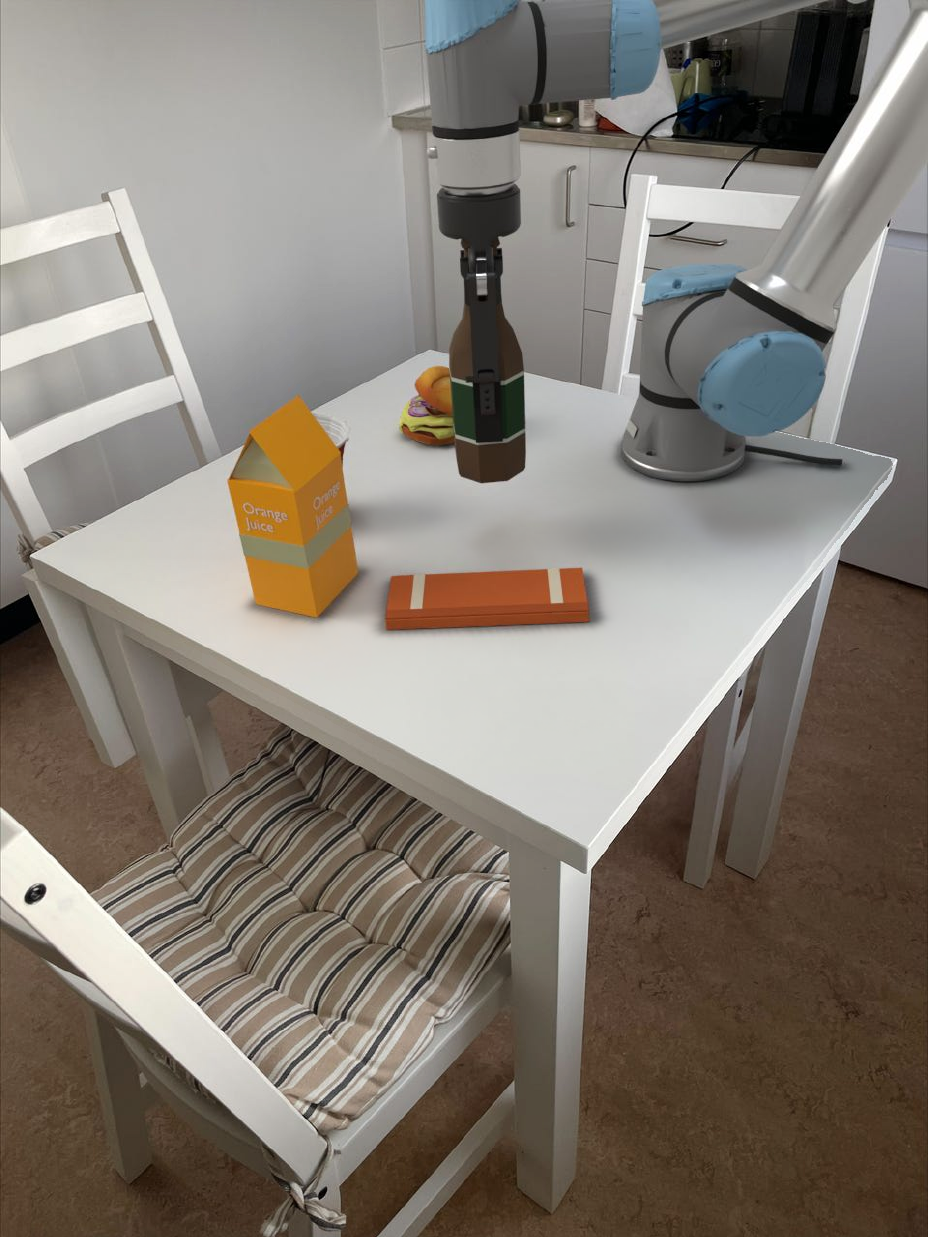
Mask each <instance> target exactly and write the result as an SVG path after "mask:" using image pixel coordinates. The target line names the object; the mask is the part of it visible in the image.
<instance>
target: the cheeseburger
mask: <svg viewBox="0 0 928 1237" xmlns="http://www.w3.org/2000/svg"><path fill="white" fill-rule="evenodd" d="M414 388H415V391H416V392H417V395H415V396H413V397H412V398H411V399H410V400H408V401H407V402H406V403H405V405H404V407H403V410H402V412H401V414H400V420H399V422H398V428H399V430H400V432H401V434H402V435H403V436H404V435H405V436H406V437H407V438H409V439H411V440H413V441H417V442H419V443H423V444H426V445H431V446H444V445H448V444H451V443H455V441H454V427H453V413H452V399H451V384H450V370H449V367H446V366H443V365H435V366H431V367H428V368H427V369H425V370H424V371H423V372H422V373H421V374H420V375H419V376H418V378H417V379H415V382H414Z"/></svg>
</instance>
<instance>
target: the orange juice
mask: <svg viewBox="0 0 928 1237" xmlns="http://www.w3.org/2000/svg"><path fill="white" fill-rule="evenodd" d="M311 412H312V411H311V410H310V408H309V407H308V406H307V405H306V403H305V402H304V400H303V399H302V397H301V396H300V395H297V396H295V397H294V398H292V399H291V400H290V401H288V402H287V403H285V404H284V405H283V406H281V407H280V408H279V409H277V410H276V411H274V412H273V413H272V414H271V415H269V416H268V417H266V418H265V419H264V420H262V421H261V422H260V423H258V424H257V425H256V426H254V427H253V428H251V429H250V430H248V433H249V434H248V435H247V436H248V437H247V438H246V440H245V443H244V444H243V447H242V449H241V452H240V454H239V455H238V458H237V460H236V462H235V465H234V466H233V469H232V471H231V473H230V475H229V477H228V479H227V480H226V481H227V486H228V490H229V494H230V499H231V503H232V508H233V511H234V516H235V520H236V525H237V528H238V529H237V530H238V532H239V533H238V536H239V539H240V545H241V548H242V553H243V556H244V560H245V563H246V567H247V572H248V576H249V580H250V585H251V589H252V593H253V594H252V595H253V598H254V602H255V605H258V606H262V607H266V608H273V609H275V610H280V611H284V612H288V613H289V612H290V613H294V614H299V615H303V616H307V617H312V618H319V617H320V616H321V615H322V613H323V612H324V611H325V610H326V609H327V608H328V607H329V606H330V605H331V604H332V603H333V602H334V600H335V599H336V598H338V596H339V595H340V594H341V593H342V592H343V591H344V589H346V588H347V587H348V585H350V583H351V582H352V581H353V580H354V579H355V578H356V577H357V575H358V574H359V568H358V567H359V566H358V561H357V554H356V549H355V542H354V535H353V528H352V524H353V523H352V518H351V511H350V505H349V501H348V494H347V489H346V482H345V474H344V469H343V468H344V466H343V467H342V461H341V452H340V451H339V449H338V448H337V447H336V445H335V444H334V443H333V441H332V440H331V438H330V437H329V436H328V434H327V433H326V432H325V430H324V429H323V428H322V426H321V425H320V424H319V422H318V421H317V419H316V418H315V417H314V415H313V414H312V413H311Z"/></svg>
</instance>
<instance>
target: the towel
mask: <svg viewBox="0 0 928 1237" xmlns="http://www.w3.org/2000/svg"><path fill="white" fill-rule="evenodd" d="M384 615H385V616H384V623H385V630H386V631H391V630H393V631H394V630H417V629H441V628H442V629H443V628H444V629H445V628H468V627H491V626H492V627H493V626H496V627H497V626H516V625H517V626H518V625H541V624H543V625H545V624H567V623H589V621H590V608H589V602H588V596H587V590H586V583H585V577H584V572H583V567H563V568H559V567H558V568H544V569H543V568H541V569H519V570H518V569H517V570H516V569H515V570H493V571H491V570H490V571H469V572H445V573H421V574H417V573H416V574H402V575H400V574H398V575H391V576H390V583H389V589H388V596H387V603H386V610H385V614H384Z"/></svg>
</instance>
